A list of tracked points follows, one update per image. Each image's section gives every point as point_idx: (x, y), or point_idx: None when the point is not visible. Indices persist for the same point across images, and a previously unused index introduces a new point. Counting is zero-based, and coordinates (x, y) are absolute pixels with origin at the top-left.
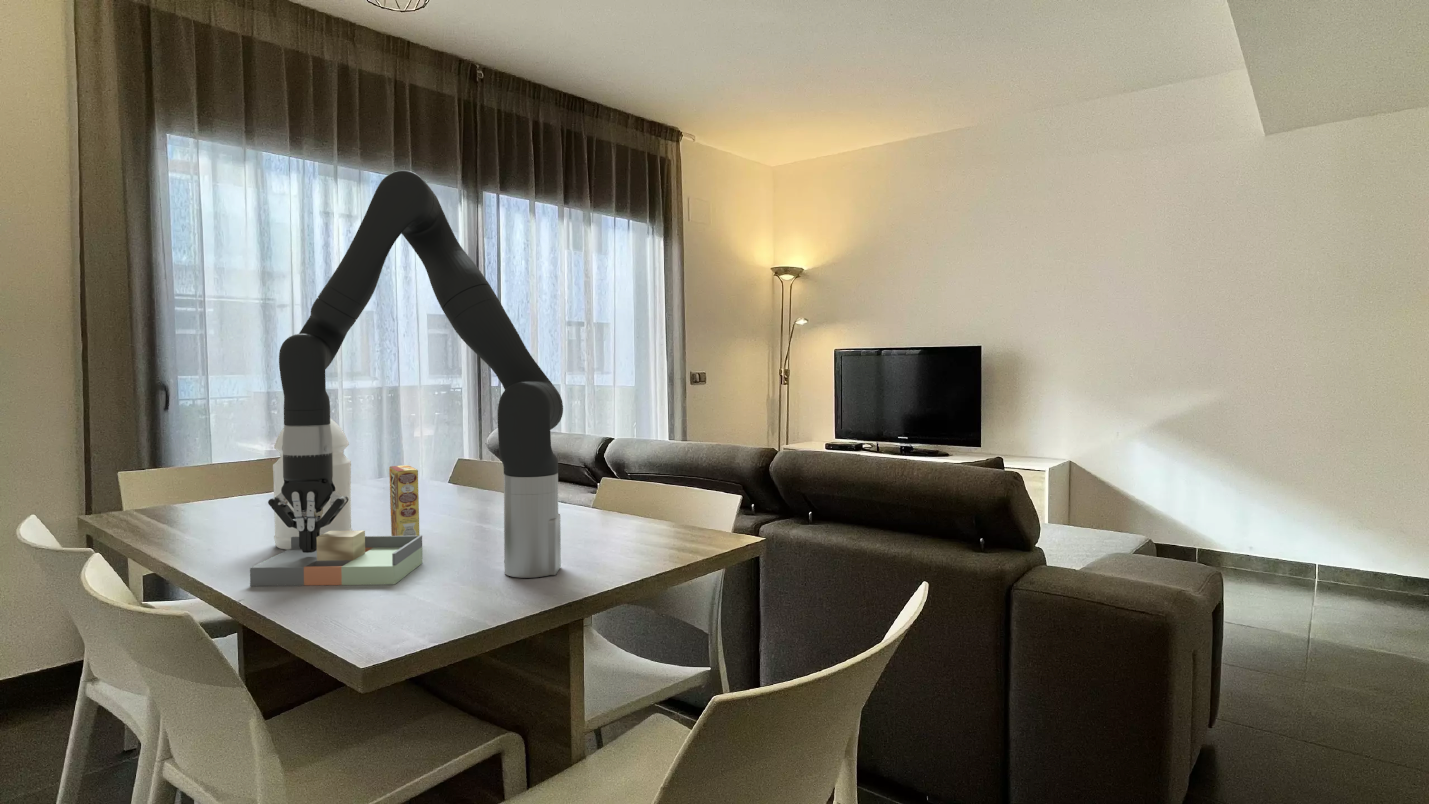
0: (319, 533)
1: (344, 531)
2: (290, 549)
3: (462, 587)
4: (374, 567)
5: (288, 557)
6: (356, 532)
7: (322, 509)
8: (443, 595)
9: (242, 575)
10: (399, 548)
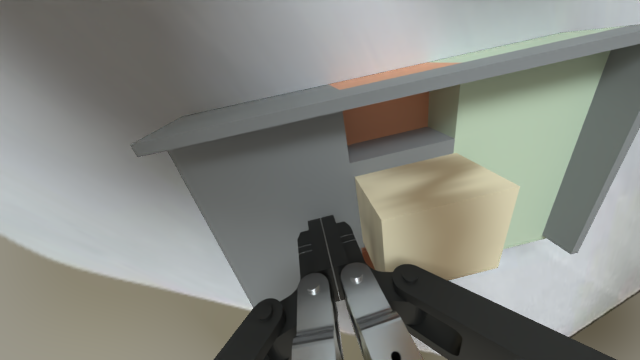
0: (362, 255)
1: (445, 217)
2: (178, 158)
3: (620, 204)
4: (505, 246)
5: (266, 235)
6: (495, 221)
7: (410, 341)
8: (586, 241)
9: (162, 233)
10: (550, 72)
